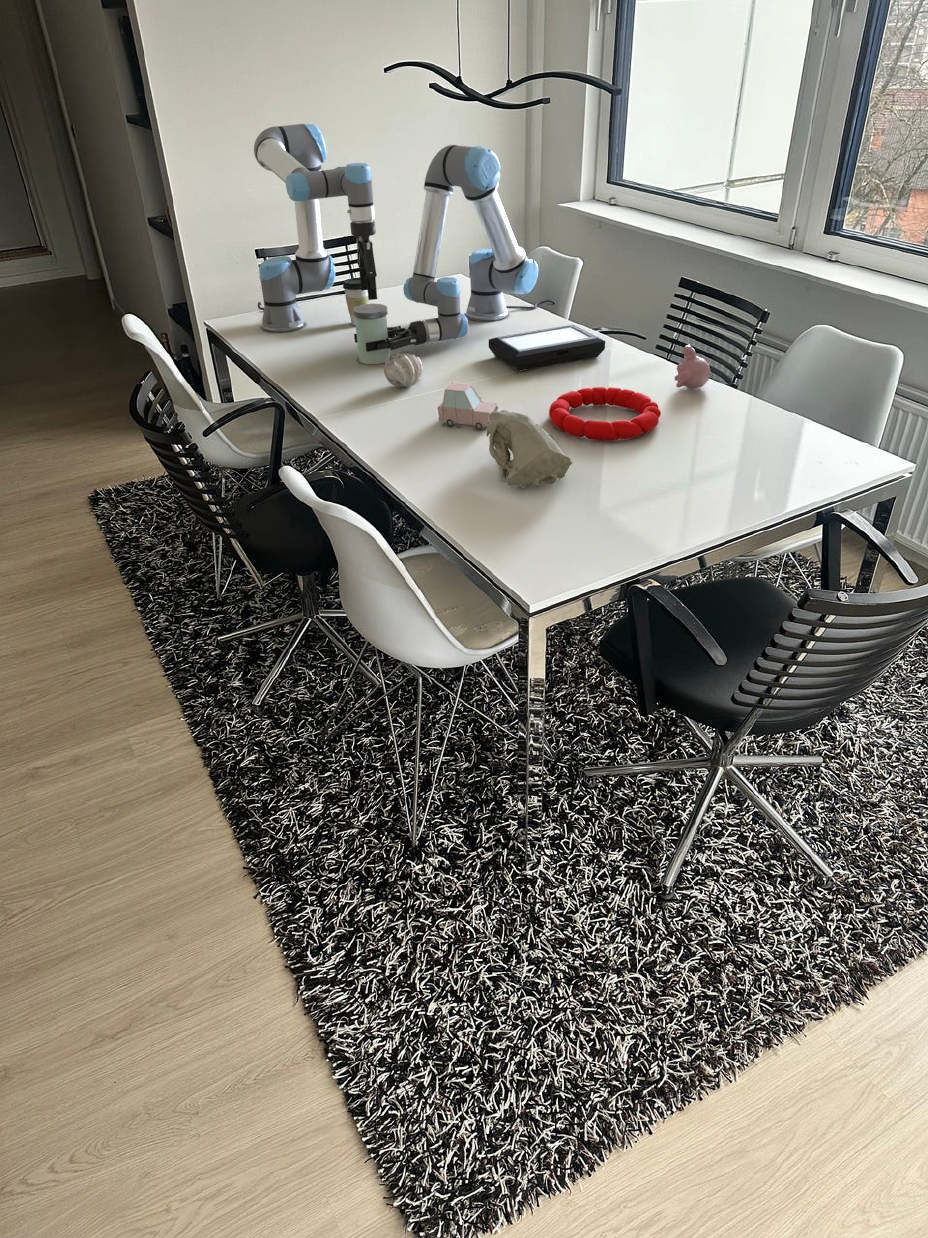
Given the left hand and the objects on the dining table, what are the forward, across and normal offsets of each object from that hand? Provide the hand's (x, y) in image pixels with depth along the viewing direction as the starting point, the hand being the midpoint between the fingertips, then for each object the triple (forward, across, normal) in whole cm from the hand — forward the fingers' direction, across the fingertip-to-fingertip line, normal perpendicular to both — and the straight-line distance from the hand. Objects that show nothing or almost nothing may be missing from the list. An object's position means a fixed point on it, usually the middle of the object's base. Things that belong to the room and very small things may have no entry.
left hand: (369, 294), depth 281 cm
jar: (+21, 0, 0) cm, 21 cm away
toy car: (+21, +63, +14) cm, 68 cm away
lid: (+5, 0, 0) cm, 5 cm away
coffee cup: (+20, -42, +3) cm, 47 cm away
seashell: (+21, +28, +4) cm, 35 cm away
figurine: (+22, +60, +83) cm, 105 cm away
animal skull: (+22, +96, +18) cm, 100 cm away
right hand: (+15, 0, -4) cm, 15 cm away
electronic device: (+21, +18, +53) cm, 60 cm away
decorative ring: (+22, +75, +49) cm, 92 cm away
